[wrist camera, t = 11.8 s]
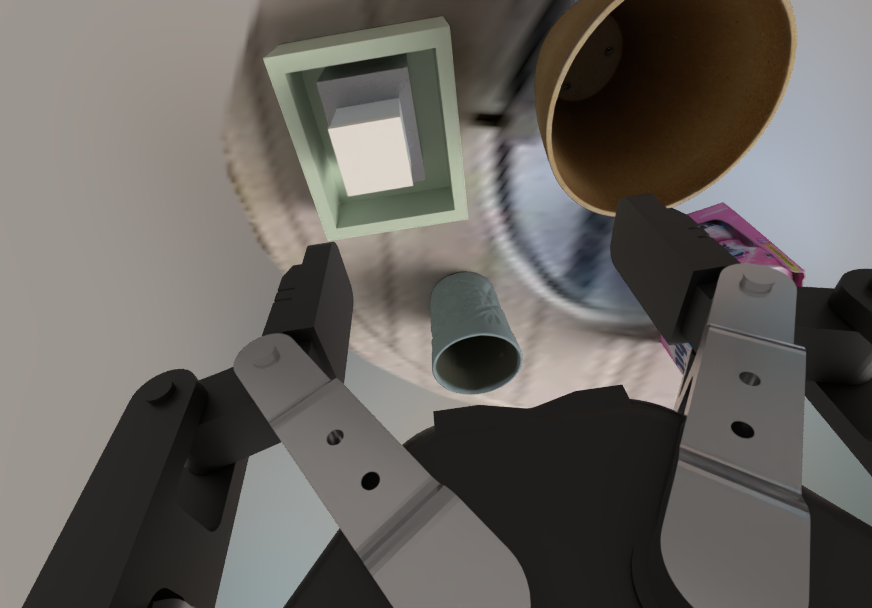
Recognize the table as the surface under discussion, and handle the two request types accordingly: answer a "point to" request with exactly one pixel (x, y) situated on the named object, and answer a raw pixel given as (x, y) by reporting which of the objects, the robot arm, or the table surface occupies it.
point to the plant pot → (659, 93)
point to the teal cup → (471, 336)
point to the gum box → (736, 255)
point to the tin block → (374, 94)
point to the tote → (436, 119)
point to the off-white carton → (371, 147)
